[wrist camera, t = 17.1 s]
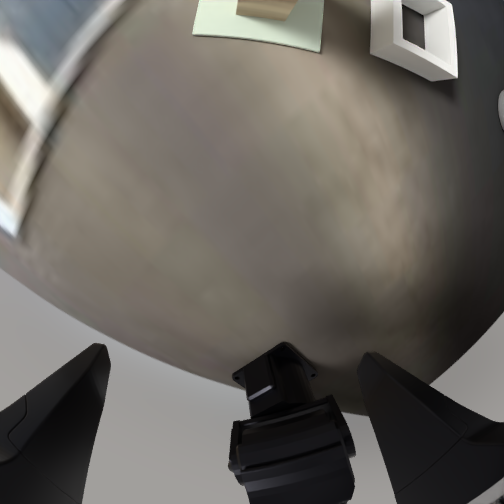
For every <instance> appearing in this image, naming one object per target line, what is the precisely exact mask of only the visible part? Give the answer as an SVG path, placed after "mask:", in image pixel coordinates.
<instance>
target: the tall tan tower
mask: <svg viewBox="0 0 504 504" xmlns="http://www.w3.org/2000/svg"><path fill="white" fill-rule="evenodd" d="M297 1H298V0H238V2H237V9H236V15H245V16H254V17H261V18H268V19H274V20H280V21H286V19H287V17H288V16H289V14H290V12H291V11H292V9H293V8H294V6H295V4H296V3H297Z"/></svg>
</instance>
